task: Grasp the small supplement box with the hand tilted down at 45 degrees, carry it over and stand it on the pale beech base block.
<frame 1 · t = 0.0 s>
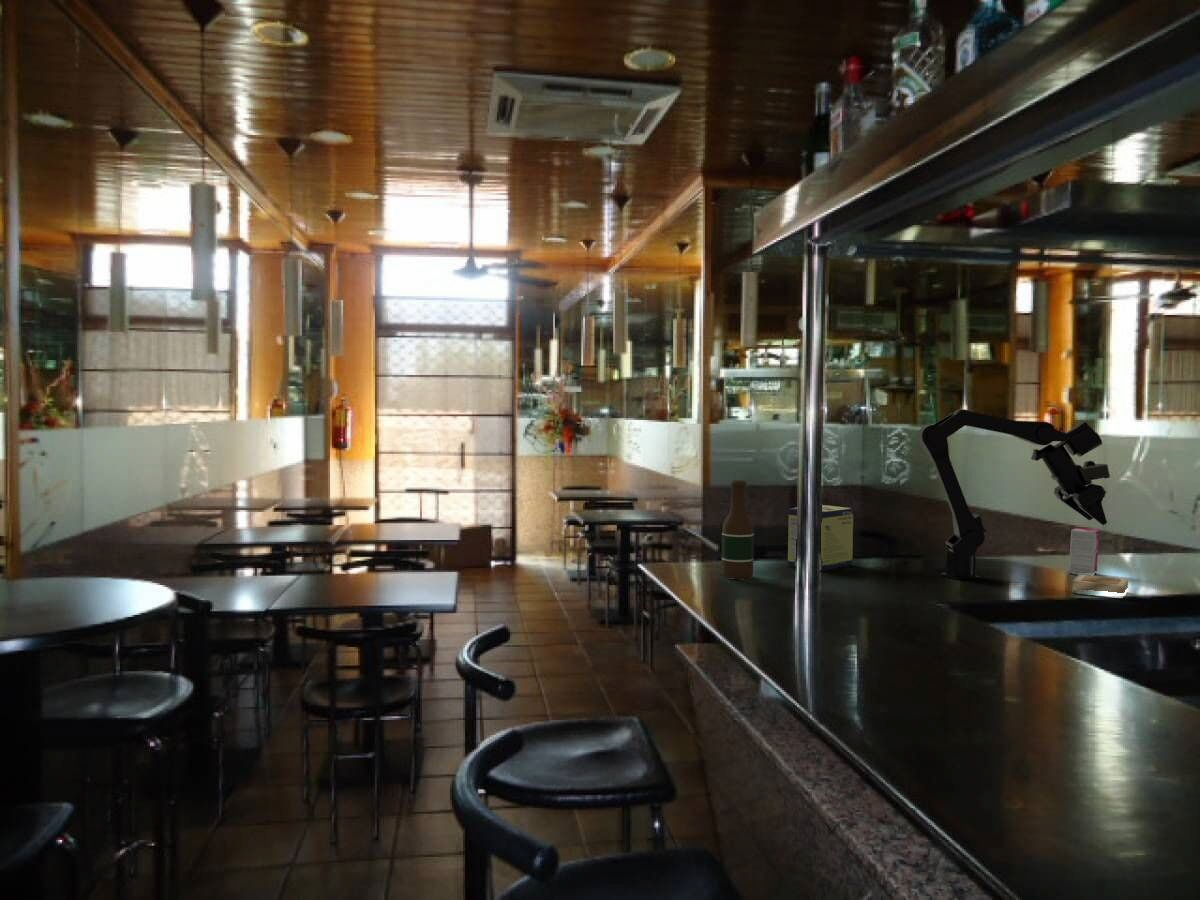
hand: (1097, 521, 218), 15 cm above the worktop, tool tilted 35°, fingers open, 9 cm apart
beer bottle: (737, 578, 222), on the worktop
protein box: (820, 566, 239), on the worktop
supplement box: (1083, 574, 230), on the worktop
beech base block: (1100, 593, 206), on the worktop
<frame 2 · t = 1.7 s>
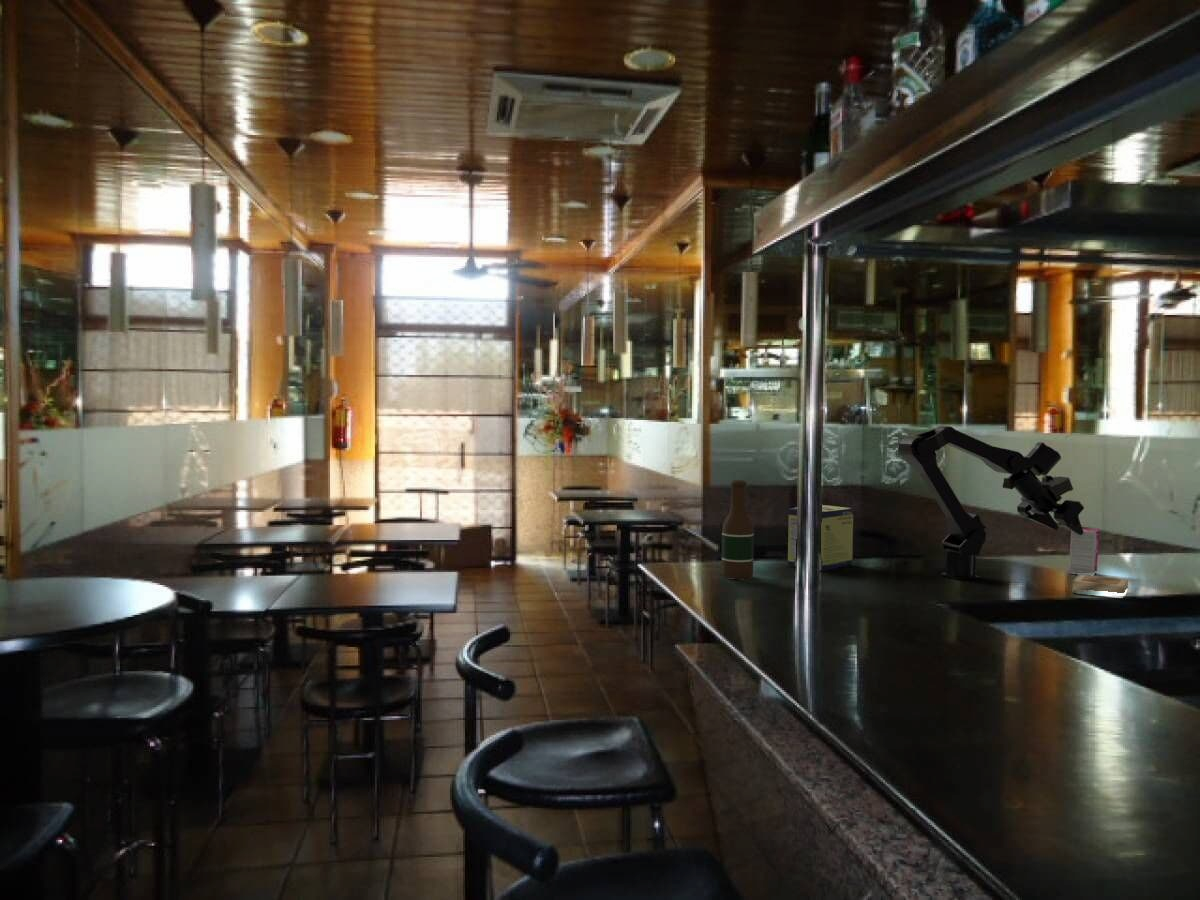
hand: (1069, 531, 229), 11 cm above the worktop, tool tilted 45°, fingers open, 9 cm apart
nothing on the worktop moved.
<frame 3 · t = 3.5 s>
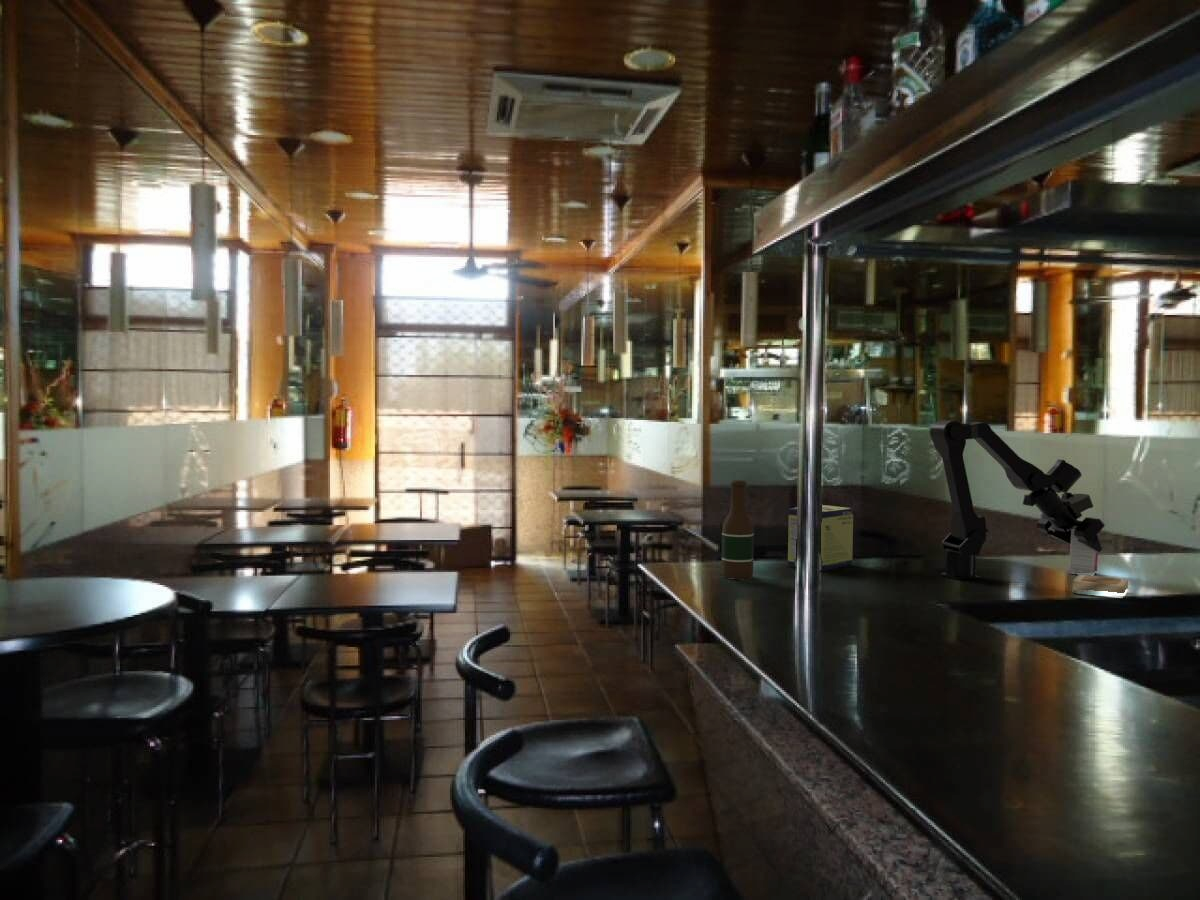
hand: (1088, 548, 230), 7 cm above the worktop, tool tilted 45°, fingers closed on supplement box, 8 cm apart
supplement box: (1083, 574, 230), on the worktop, touching gripper
everything else where it was.
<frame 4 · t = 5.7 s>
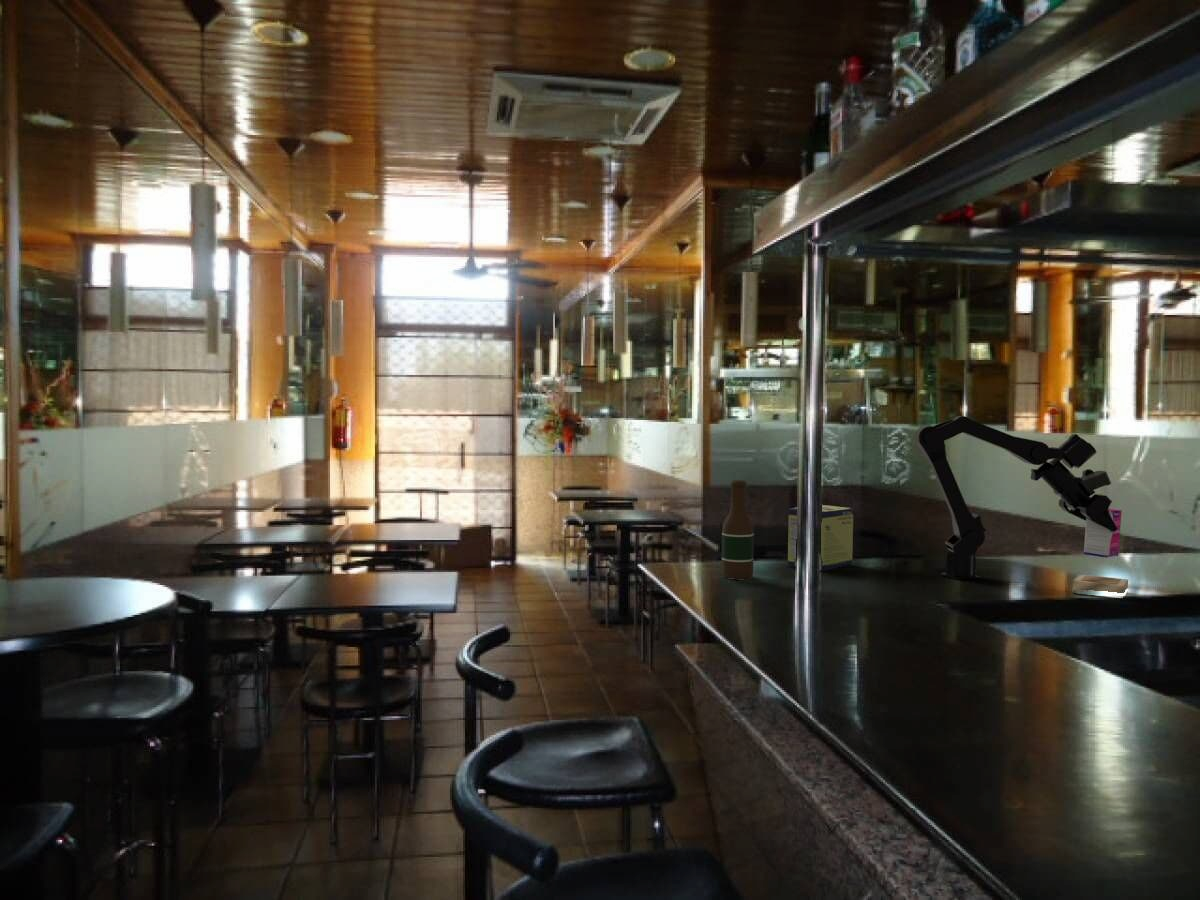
hand: (1108, 528, 219), 13 cm above the worktop, tool tilted 45°, fingers closed on supplement box, 8 cm apart
supplement box: (1101, 556, 219), point 6 cm above the worktop, touching gripper
everything else where it was.
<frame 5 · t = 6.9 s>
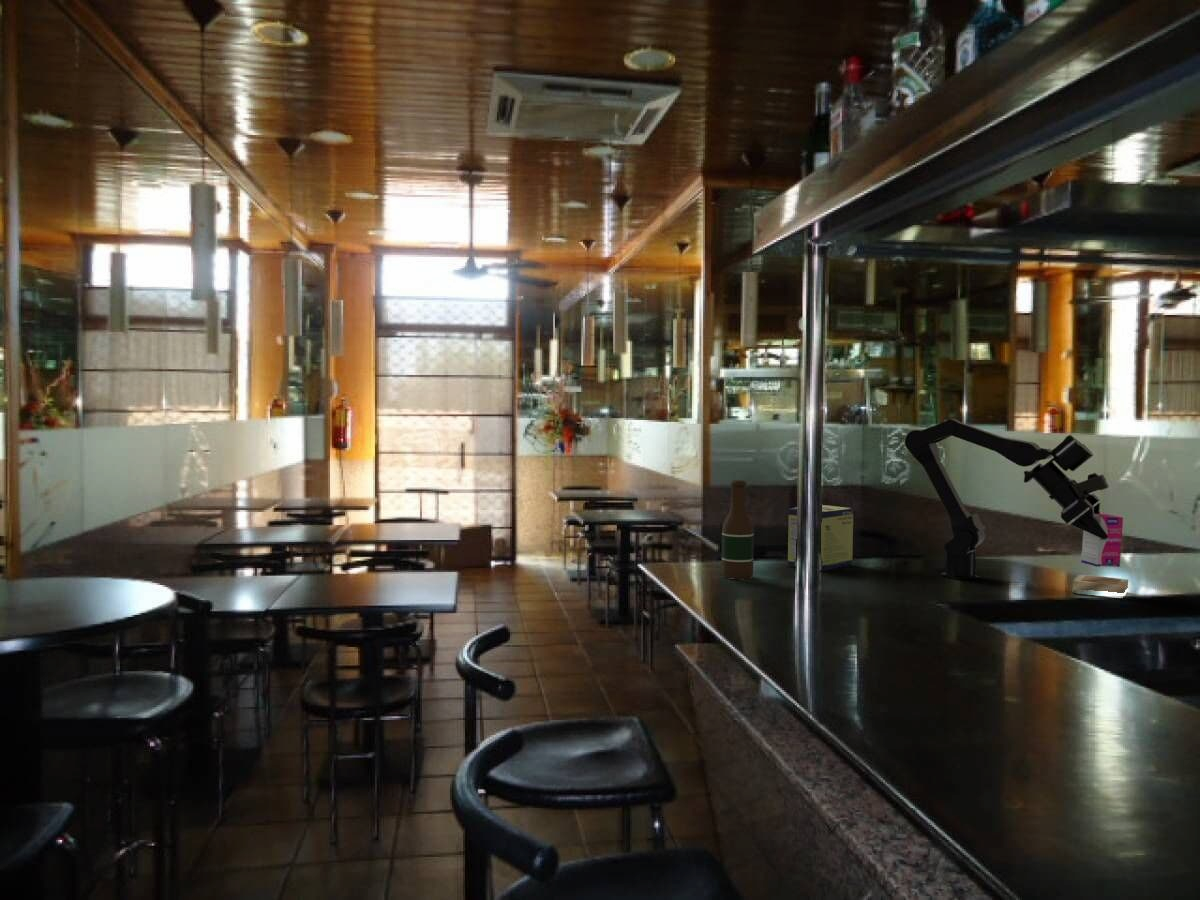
hand: (1108, 536, 205), 13 cm above the worktop, tool tilted 45°, fingers closed on supplement box, 8 cm apart
supplement box: (1100, 565, 206), point 6 cm above the worktop, touching gripper
everything else where it was.
when the fingers open (11 cm above the worktop, at t = 8.0 s): supplement box stays where it is, resting on beech base block.
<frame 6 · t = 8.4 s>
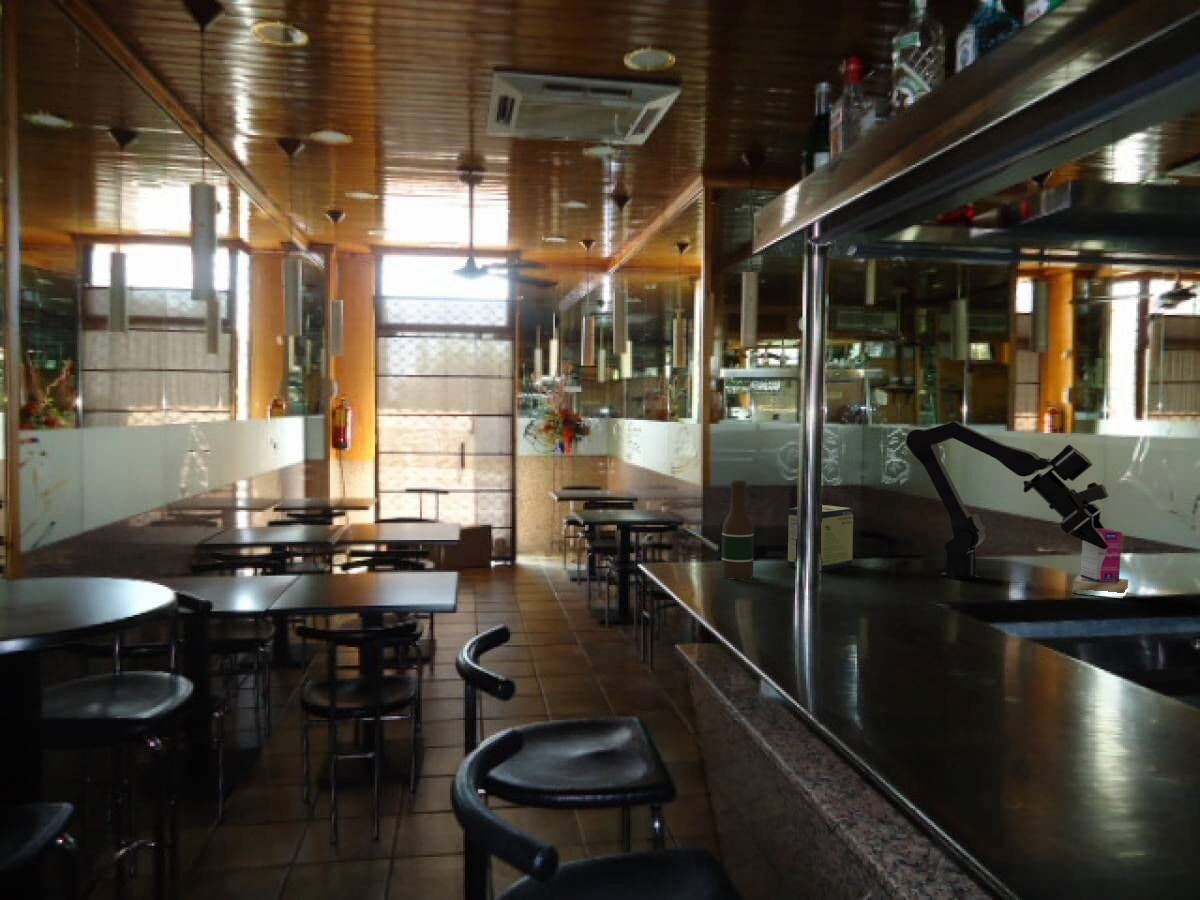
hand: (1108, 545, 205), 11 cm above the worktop, tool tilted 45°, fingers open, 9 cm apart
supplement box: (1099, 580, 206), point 3 cm above the worktop, touching beech base block
everything else where it was.
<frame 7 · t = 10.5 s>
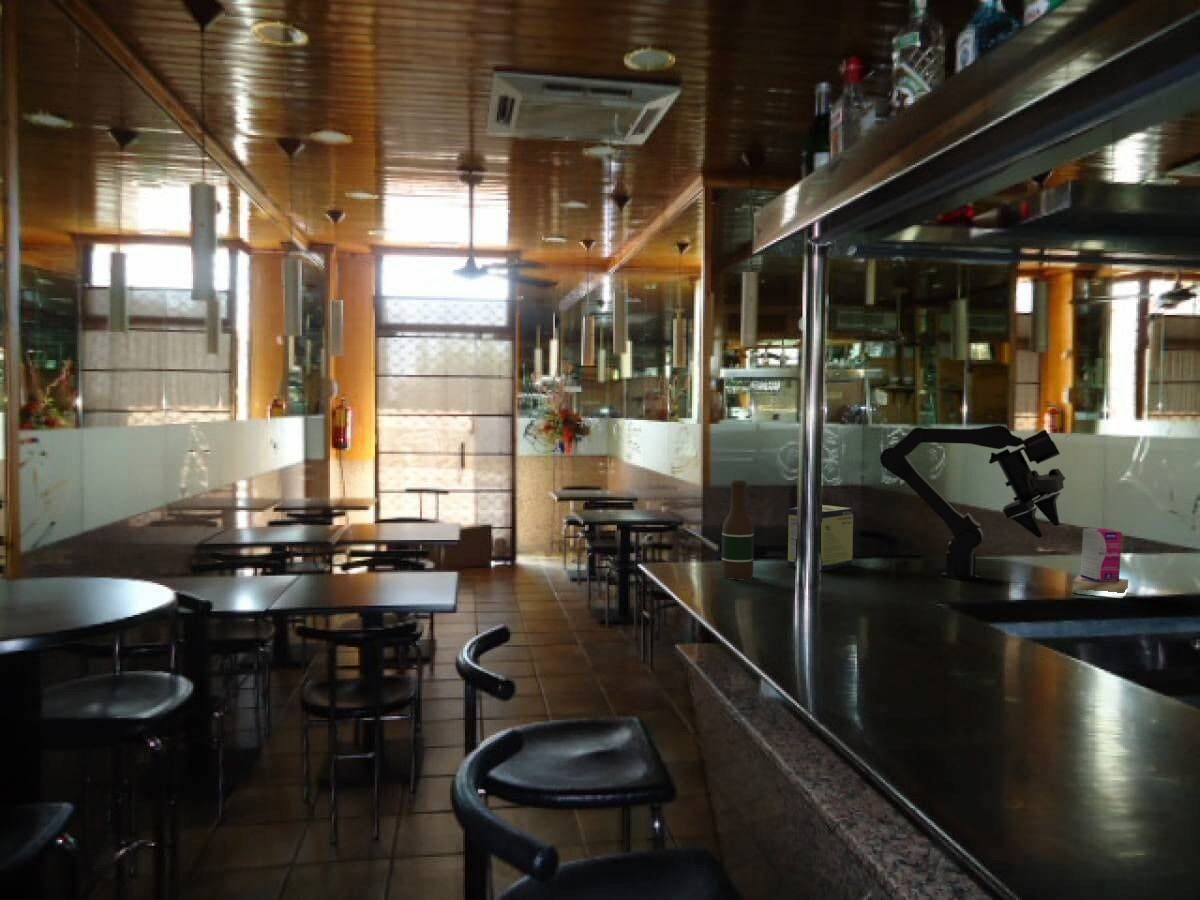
hand: (1049, 531, 216), 13 cm above the worktop, tool tilted 30°, fingers open, 9 cm apart
nothing on the worktop moved.
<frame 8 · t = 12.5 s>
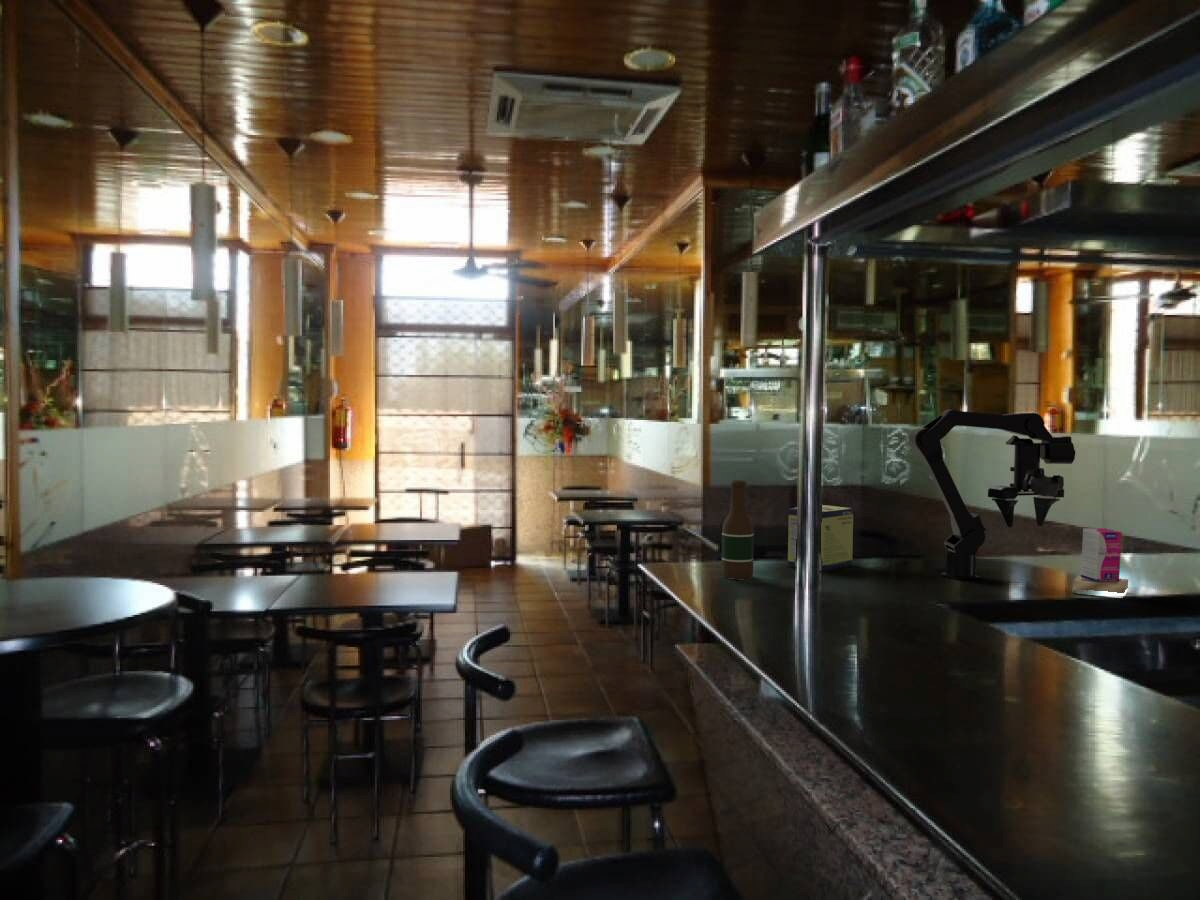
hand: (1025, 526, 222), 13 cm above the worktop, tool pointing down, fingers open, 9 cm apart
nothing on the worktop moved.
at the end: supplement box inside the target area on the beech base block (0.2 cm from its centre), point 3.0 cm above the beech base block's base; supplement box tilted 0°; the gripper is holding nothing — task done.
